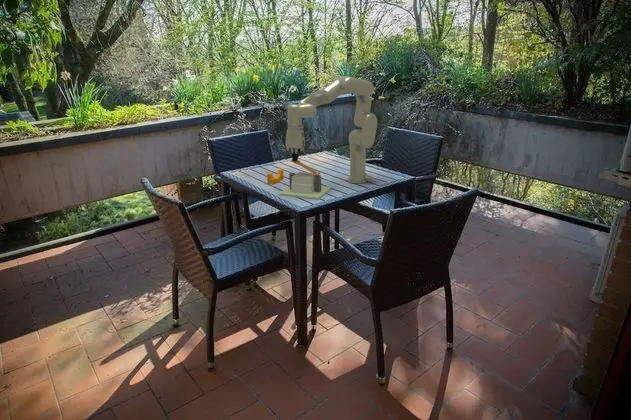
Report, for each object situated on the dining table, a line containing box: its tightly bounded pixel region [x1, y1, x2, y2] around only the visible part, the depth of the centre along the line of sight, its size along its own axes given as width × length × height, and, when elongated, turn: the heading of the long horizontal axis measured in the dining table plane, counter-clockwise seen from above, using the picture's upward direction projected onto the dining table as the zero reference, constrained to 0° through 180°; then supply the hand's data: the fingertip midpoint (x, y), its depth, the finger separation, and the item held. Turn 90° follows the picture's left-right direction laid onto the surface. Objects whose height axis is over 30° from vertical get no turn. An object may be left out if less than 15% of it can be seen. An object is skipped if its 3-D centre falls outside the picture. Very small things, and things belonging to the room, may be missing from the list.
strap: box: [290, 158, 321, 176], centre depth 237 cm, size 18×5×1 cm, turn 69°
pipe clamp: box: [266, 169, 285, 185], centre depth 262 cm, size 12×4×6 cm, turn 143°
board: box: [278, 171, 332, 200], centre depth 241 cm, size 24×20×10 cm
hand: (295, 160), depth 237 cm, fingers closed
